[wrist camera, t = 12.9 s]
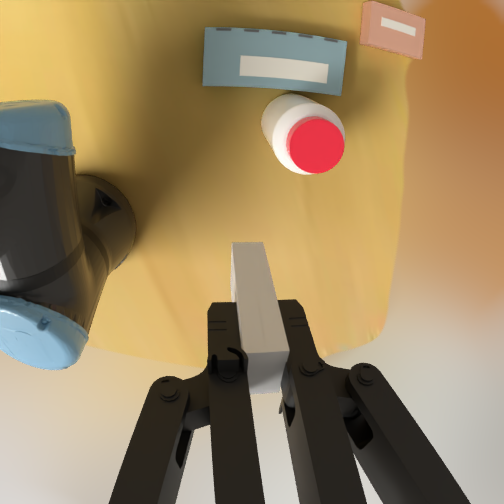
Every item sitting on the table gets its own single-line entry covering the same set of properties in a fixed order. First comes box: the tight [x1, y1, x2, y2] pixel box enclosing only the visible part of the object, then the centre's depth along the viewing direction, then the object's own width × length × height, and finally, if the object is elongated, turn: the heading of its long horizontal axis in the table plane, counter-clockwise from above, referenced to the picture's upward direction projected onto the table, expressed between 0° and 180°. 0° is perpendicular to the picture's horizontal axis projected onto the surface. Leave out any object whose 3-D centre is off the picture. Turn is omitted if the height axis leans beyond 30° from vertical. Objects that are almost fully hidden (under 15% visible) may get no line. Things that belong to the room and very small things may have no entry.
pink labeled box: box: [360, 1, 426, 59], centre depth 29 cm, size 8×6×3 cm
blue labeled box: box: [203, 27, 347, 96], centre depth 32 cm, size 16×7×3 cm, turn 86°
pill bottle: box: [261, 94, 345, 174], centre depth 33 cm, size 8×8×11 cm
